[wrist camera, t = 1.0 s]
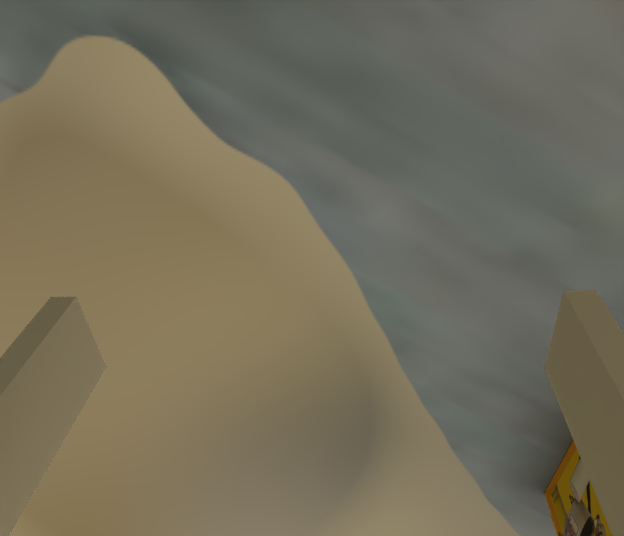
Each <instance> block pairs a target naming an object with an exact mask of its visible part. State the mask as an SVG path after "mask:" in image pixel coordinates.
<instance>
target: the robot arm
mask: <svg viewBox="0 0 624 536" xmlns="http://www.w3.org/2000/svg"><path fill="white" fill-rule="evenodd" d="M105 368H106V365H105V363H104V360H103V358H102V356H101V353H100V351H99V349H98V346H97V344H96V342H95V339H94V337H93V335H92V332H91V330H90V328H89V325H88V323H87V321H86V318H85V316H84V314H83V311H82V309H81V307H80V304H79V302H78V300H77V298H76V297H51V298H50V299H49V300H48V301H47V302H46V304H45V305H44V306H43V307H42V308H41V310H40V311H39V312H38V313H37V314H36V316H35V317H34V318H33V319H32V320H31V322H30V323H29V324H28V325H27V326H26V328H25V329H24V330H23V331H22V332H21V334H20V335H19V336H18V338H16V340H15V341H14V342H13V343H12V344H11V346H10V347H9V348H8V349H7V350H6V352H5V353H4V354H3V355H2V357H1V358H0V536H9V534H10V532H11V531H12V529H13V527H14V526H15V524H16V522H17V520H18V519H19V517H20V515H21V513H22V512H23V510H24V508H25V506H26V505H27V503H28V501H29V500H30V498H31V496H32V494H33V493H34V491H35V489H36V487H37V486H38V484H39V482H40V480H41V479H42V477H43V475H44V473H45V472H46V470H47V468H48V466H49V465H50V463H51V461H52V459H53V458H54V456H55V454H56V452H57V451H58V449H59V447H60V446H61V444H62V442H63V440H64V439H65V437H66V435H67V433H68V432H69V430H70V429H71V427H72V425H73V423H74V422H75V420H76V418H77V416H78V415H79V413H80V411H81V409H82V408H83V406H84V404H85V402H86V401H87V399H88V397H89V396H90V394H91V392H92V390H93V389H94V387H95V385H96V383H97V382H98V380H99V378H100V377H101V374H102V373H103V371H104V370H105ZM544 369H545V372H546V374H547V377H548V379H549V381H550V384H551V386H552V389H553V391H554V394H555V396H556V399H557V401H558V404H559V406H560V408H561V411H562V413H563V416H564V418H565V421H566V423H567V426H568V428H569V430H570V433H571V435H572V438H573V440H574V443H575V445H576V448H577V450H578V452H579V455H580V457H581V460H582V462H583V465H584V467H585V470H586V472H587V474H588V477H589V479H590V482H591V484H592V487H593V489H594V492H595V494H596V496H597V499H598V501H599V504H600V506H601V509H602V511H603V514H604V516H605V518H606V521H607V523H608V526H609V528H610V531H611V533H612V536H624V334H623V332H622V331H621V329H620V328H619V326H618V324H617V323H616V321H615V320H614V318H613V317H612V315H611V313H610V312H609V310H608V309H607V307H606V306H605V304H604V302H603V301H602V299H601V298H600V296H599V295H598V293H597V291H596V290H587V291H564V292H563V296H562V300H561V304H560V308H559V312H558V316H557V320H556V324H555V328H554V332H553V336H552V339H551V343H550V347H549V351H548V355H547V359H546V363H545V367H544Z"/></svg>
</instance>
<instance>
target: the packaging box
mask: <svg viewBox="0 0 624 536" xmlns="http://www.w3.org/2000/svg"><path fill="white" fill-rule="evenodd" d="M544 496H545V499H546V502H547V505H548V508H549V511H550V514H551V517H552V521H553V524H554V527H555V530H556V533H557V536H612V533H611V531H610V528H609V526H608V523H607V521H606V518H605V516H604V514H603V511H602V509H601V506H600V504H599V501H598V499H597V496H596V494H595V492H594V489H593V487H592V484H591V482H590V479H589V477H588V474H587V472H586V470H585V467H584V465H583V462H582V460H581V457H580V455H579V452H578V450H577V448H576V445H575V443H574V440H573V441H572V443H571V445H570V447H569V449H568V451H567V452H566V454H565V456H564V458H563V460H562V462H561V463H560V465H559V467H558V469H557V471H556V473H555V474H554V476H553V478H552V480H551V482H550V484H549V485H548V487H547V489H546V491H545V493H544Z"/></svg>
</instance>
